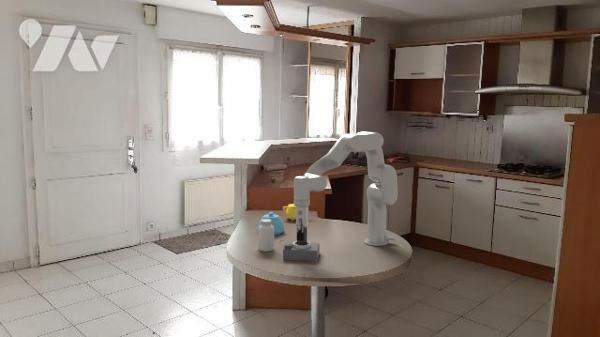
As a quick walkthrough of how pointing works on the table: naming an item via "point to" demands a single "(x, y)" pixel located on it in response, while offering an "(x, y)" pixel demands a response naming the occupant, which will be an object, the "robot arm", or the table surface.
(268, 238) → the pill bottle
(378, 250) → the table surface
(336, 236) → the table surface
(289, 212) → the teapot
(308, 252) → the camera body
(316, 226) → the table surface
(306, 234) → the lens
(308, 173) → the robot arm
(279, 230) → the sugar bowl
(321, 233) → the table surface
